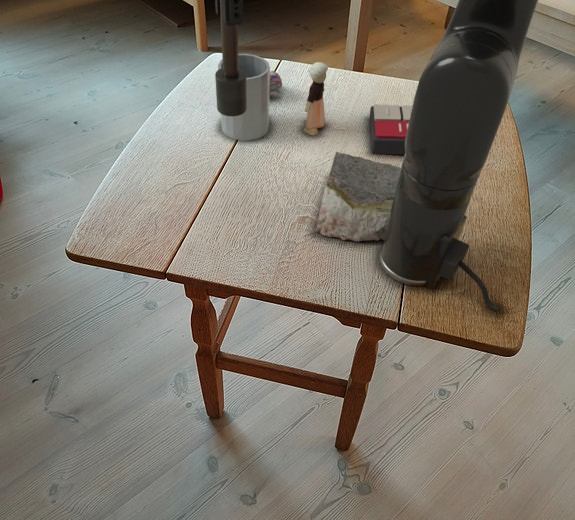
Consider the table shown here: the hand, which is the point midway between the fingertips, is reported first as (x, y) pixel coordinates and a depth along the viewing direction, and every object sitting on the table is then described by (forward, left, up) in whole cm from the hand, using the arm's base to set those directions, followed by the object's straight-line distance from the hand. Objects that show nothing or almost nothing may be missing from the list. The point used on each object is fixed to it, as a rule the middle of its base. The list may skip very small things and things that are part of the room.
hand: (229, 18), depth 65 cm
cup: (+12, -18, -29) cm, 36 cm away
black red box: (-14, -34, -29) cm, 47 cm away
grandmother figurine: (+2, -26, -29) cm, 39 cm away
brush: (0, 0, -12) cm, 12 cm away
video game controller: (+17, -28, -29) cm, 44 cm away
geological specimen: (-16, -11, -29) cm, 35 cm away
